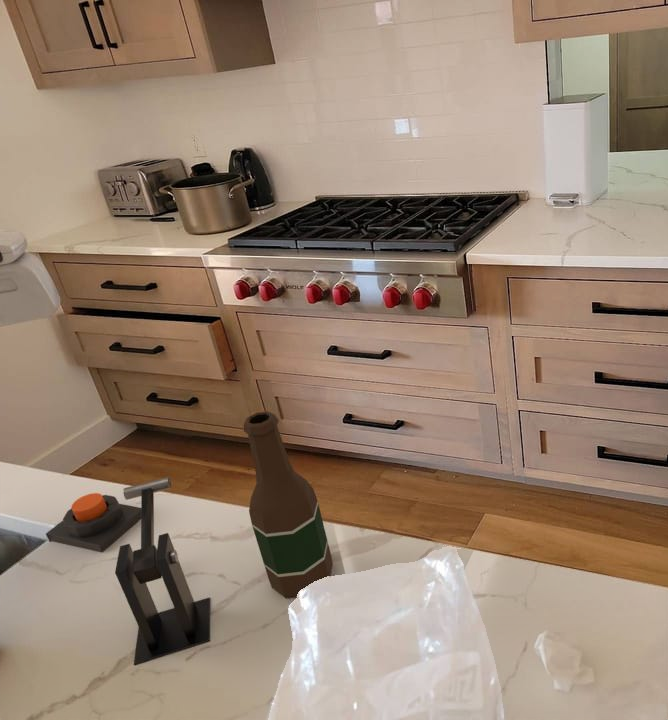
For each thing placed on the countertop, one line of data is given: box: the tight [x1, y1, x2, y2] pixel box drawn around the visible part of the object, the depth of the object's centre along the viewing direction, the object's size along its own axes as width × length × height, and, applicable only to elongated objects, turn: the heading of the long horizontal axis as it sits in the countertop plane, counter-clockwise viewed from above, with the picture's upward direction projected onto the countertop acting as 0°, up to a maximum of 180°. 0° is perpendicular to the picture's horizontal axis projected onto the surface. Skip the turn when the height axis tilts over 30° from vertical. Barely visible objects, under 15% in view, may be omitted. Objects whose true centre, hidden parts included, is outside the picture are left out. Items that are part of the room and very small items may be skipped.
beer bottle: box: [243, 410, 334, 600], centre depth 79 cm, size 8×8×24 cm
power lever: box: [122, 476, 172, 584], centre depth 77 cm, size 13×5×2 cm, turn 19°
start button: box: [70, 492, 107, 522], centre depth 95 cm, size 4×4×2 cm
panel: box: [45, 494, 141, 553], centre depth 96 cm, size 10×8×4 cm
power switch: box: [114, 532, 212, 666], centre depth 76 cm, size 7×8×13 cm
